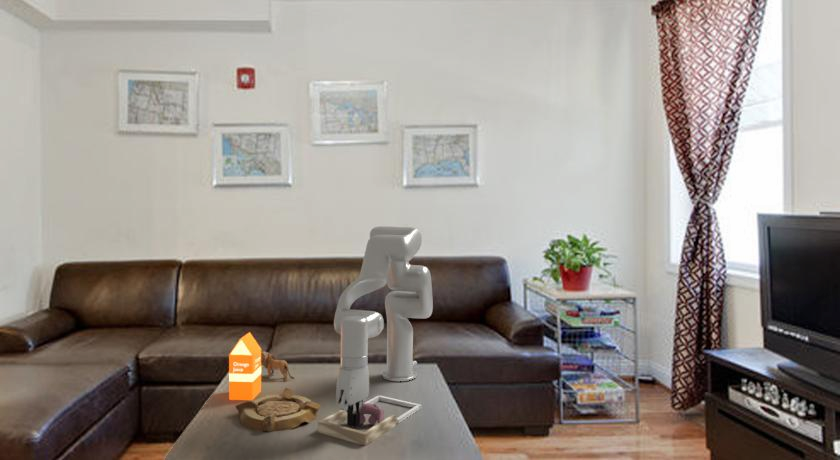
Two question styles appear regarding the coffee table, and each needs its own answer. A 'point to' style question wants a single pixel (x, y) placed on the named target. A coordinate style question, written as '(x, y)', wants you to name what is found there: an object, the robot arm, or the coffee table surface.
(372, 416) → the video game controller
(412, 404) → the white bay
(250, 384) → the orange juice
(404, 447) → the coffee table surface
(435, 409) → the coffee table surface
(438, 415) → the coffee table surface
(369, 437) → the wooden u-shaped frame
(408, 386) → the coffee table surface
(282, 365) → the lion figurine
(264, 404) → the ashtray
